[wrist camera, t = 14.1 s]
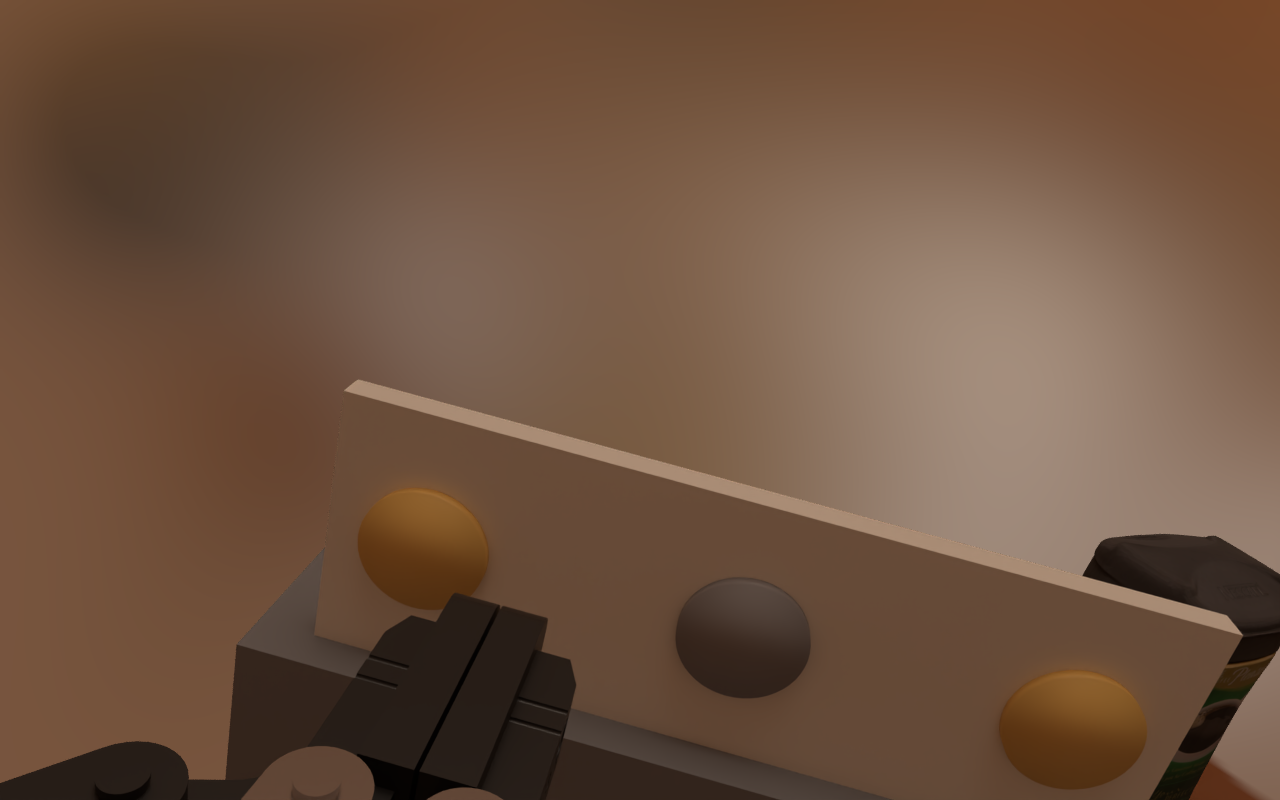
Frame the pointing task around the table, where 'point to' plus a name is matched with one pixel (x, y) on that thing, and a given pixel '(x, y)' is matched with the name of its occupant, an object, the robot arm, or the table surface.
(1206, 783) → the table surface
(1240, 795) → the table surface
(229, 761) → the button panel
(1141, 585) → the coffee jar
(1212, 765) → the table surface
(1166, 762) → the card
